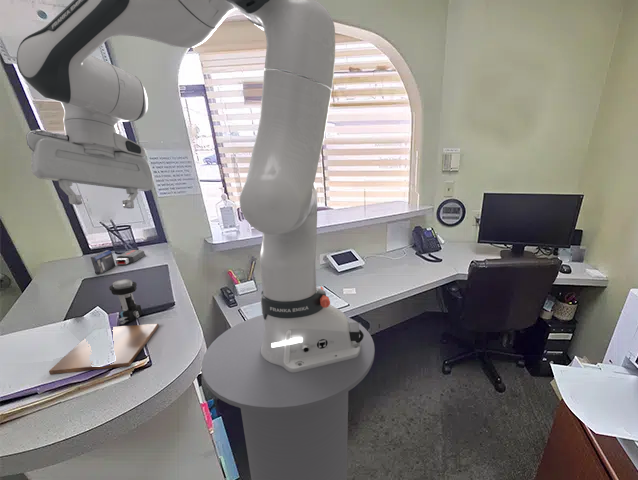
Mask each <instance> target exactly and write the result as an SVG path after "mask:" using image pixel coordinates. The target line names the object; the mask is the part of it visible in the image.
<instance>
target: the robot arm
mask: <svg viewBox="0 0 638 480" xmlns="http://www.w3.org/2000/svg"><path fill="white" fill-rule="evenodd" d="M234 11H238V12H240V14H242V15H243V16H244V17H245V18H246V19H247V20H248V21H249V22H250V23H251V24H253V25H254V26H255V27H257V28H259V29H261V30H262V31H264V34H265V39H266V40H265V41H266V48H265V49H266V51H265V60H264V67H263V68H264V69H263V70H264V71H263V81H262V90H261V91H262V93H261V101H260V102H261V103H260V111H259V112H260V113H259V121H258V127H257V132H256V137H255V140H254V144H253V147H252V152H251V156H250V159H249V160H250V161H249V164H248V165H249V166H248V170H247V175H246V179H245V180H246V181H245V182H244V185H243V187H242V190H241V192H240V196H239V207H240V210H241V213H242V215H243V217H244V219H245V220H246V222H247V223H248V224H249V225H250V226H251V227H252V228H254V229H255V230H256V231H258V232H260V233H262V237H261V238H262V239H261V247H260V252H259V266H260V277H261V287H262V290H261V294H260V307H261V315H263V318H264V336H263V342H262V346H261V355H262V356H263V358H264V359H265V360H267V361H268V362H270V363H273V364H276V365H280V366H282V367H284V368H285V369H286V370H287V371H289V372H292V373H294V372H299V371H303V370H307V369H311V368H315V367H319V366H323V365H327V364H332V363H336V362H340V361H344V360H348V359H352V358H355V357H357V356H358V355H359V353H360V351H361V343H360V342H361V341H362V339H363V337H364V334H363V332H362V331H361V330H359V324H360V322H358V321H356V322H348V319H347V317H348V316H346V314H345V313H344V311H342V310H341V309H338V308H337V307H335V306H333V305H332V304H331V300H330V298H329V297H328V296H327V293H326V291H325V289H324V288H323V286H321V285H320V287H319V286H317V234H318V233H317V232H318V231H317V230H318V188H317V185H316V183H315V181H316V175H317V171H318V168H319V167H318V166H319V162H320V157H321V153H322V148H323V145H324V142H325V135H326V129H327V122H328V117H329V112H330V111H329V110H330V103H331V98H332V92H333V84H334V75H335V65H336V64H335V62H336V27H335V22H334V19H333V18H332V16H331V14H330V12H329V11H328V10H327V8H326V7H325V6H323V4H321V3H320V2H319V1H318V0H72V1H71V2H70V3H69V4H68V5H67V6H66V7H64V9H63V10H62V11H61V12H60V13H58V14H57V15H56V16H55V17H54V18H53V19H51V21H50V22H49V23H48V24H46V25H45V26H44V27H42V28H41V29H40V30H37V31H35V32H33V33H31V34H28V35H27V36H26V37H25V38H23V40H21V42H20V44H19V46H18V48H17V52H16V66H17V69H18V71H19V73H20V75H21V76H22V78H23V79H24V80H25V81H26V82H27V84H28V85H30V87H31V88H32V89H33V90H34V91H36V92H37V93H38V94H39V95H40V96H41V97H42V98H44V99H47V100H51V101H55V102H58V103H60V104H61V106H62V108H63V111H64V114H63V127H64V133H63V134H62V133H57V132H50V131H48V130H44V129H39V128H38V129H36V128H35V130H29V131H28V132H27V133H26V135H25V139H26V145H27V147H28V148H29V149H30V151H31V152H30V169H31V173H32V174H33V175H34V176H35V177H36V178H37V179H39V180H48V181H55V182H58V186H59V188H60V189H61V190H62V191H63V193H65V194H66V196H67V197H68V203H69V204H70V205H78V206H80V205H82V204H83V201H82V195H81V194H76V193H75V191H74V190H73V189H72V188H71V187H72V186H73V184H81V185H87V186H88V185H89V186H97V187H105V188H111V189H112V188H113V189H122V190H125V191H126V194H127V195H128V196H127V198H126V199H123V200H122V201H121V202H122V207H123V209H130V210H132V209H134V208H135V204H134V203H135V202H134V201H135V199H136V197H137V196H138V194H139V192H148V191H151V190H152V189H153V188H154V186H155V183H154V181H155V180H154V176H153V171H152V168H151V165H150V163H149V161H148V160H147V159H146V158H145V156H147V150H146V148H145V147H144V146H142V145H141V144H139V143H137V142H135V141H133V140H131V139H129V138H127V137H125V136H124V135H122V134H120V132H119V129H118V123H119V122H122V123H123V122H124V123H131V122H135V121H138V120H140V119H142V118H143V117H144V116H145V115H146V114H147V113H148V108H149V99H148V95H147V91H146V88H145V86H144V84H143V82H142V81H141V79H139V77H138V76H136V75H134V74H132V73H130V72H128V71H127V70H124V69H122V68H120V67H118V66H116V65H114V64H112V63H110V62H106V61H105V60H103V59H100V58H98V57H95V56H93V55H92V54H93V53H94V52H95V51H96V50H98V49H99V48H100V47H101V46H102V45H103V44H105V42H107V41H108V40H110V39H112V38H116V37H121V36H124V37H125V36H126V37H135V38H142V39H145V40H149V41H154V42H158V43H161V44H164V45H167V46H170V47H174V48H179V49H194V48H196V47H198V46H201V45H202V44H204V43H205V42H206V41H207V40H208V39H209V38H211V36H212V35H214V32H215V31H216V30H217V29H218V28H219V26H221V24H222V23H223V22H224V21H225V19H226V18H227V17H228V15H230V14H231V13H232V12H234ZM359 334H360V338H359Z"/></svg>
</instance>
